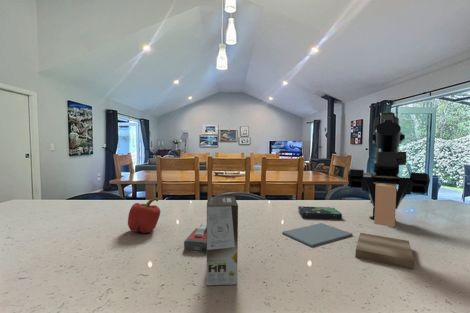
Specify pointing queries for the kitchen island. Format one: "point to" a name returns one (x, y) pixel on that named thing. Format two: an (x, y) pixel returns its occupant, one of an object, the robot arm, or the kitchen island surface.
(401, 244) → the plate
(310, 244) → the slate grey mat
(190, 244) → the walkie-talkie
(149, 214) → the vegetable
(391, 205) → the terracotta block
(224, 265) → the coffee box
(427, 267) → the kitchen island surface
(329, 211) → the disk drive
